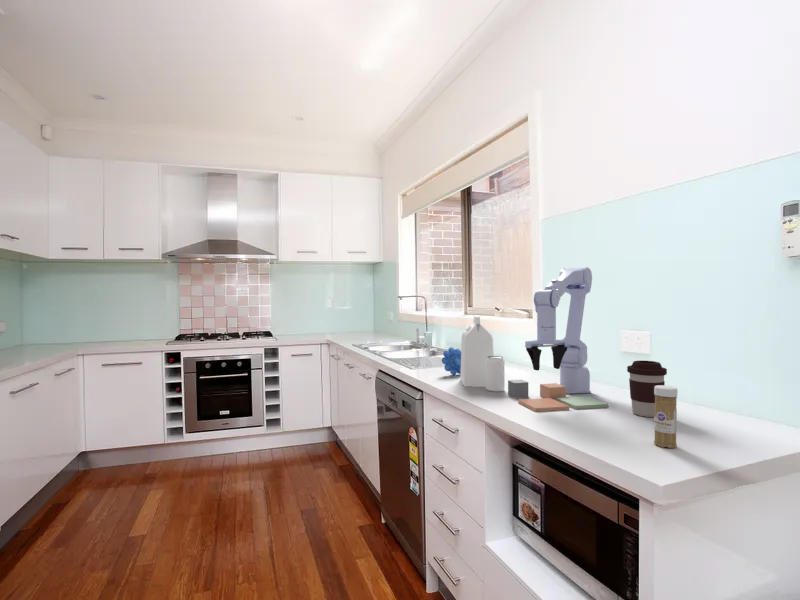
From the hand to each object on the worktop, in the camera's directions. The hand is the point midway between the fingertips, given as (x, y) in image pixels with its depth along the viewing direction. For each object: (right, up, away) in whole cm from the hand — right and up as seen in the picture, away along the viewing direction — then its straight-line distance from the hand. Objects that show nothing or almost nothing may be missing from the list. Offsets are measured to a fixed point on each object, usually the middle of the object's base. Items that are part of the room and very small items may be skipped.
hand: (546, 369), depth 146 cm
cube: (-7, -10, +9) cm, 15 cm away
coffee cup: (+23, -11, -16) cm, 30 cm away
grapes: (-24, -10, +47) cm, 54 cm away
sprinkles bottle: (+13, -11, -42) cm, 46 cm away
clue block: (+4, -10, +6) cm, 12 cm away
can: (-13, -10, +18) cm, 24 cm away
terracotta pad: (-3, -10, -6) cm, 12 cm away
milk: (-17, -10, +30) cm, 36 cm away
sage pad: (+10, -10, -3) cm, 15 cm away
